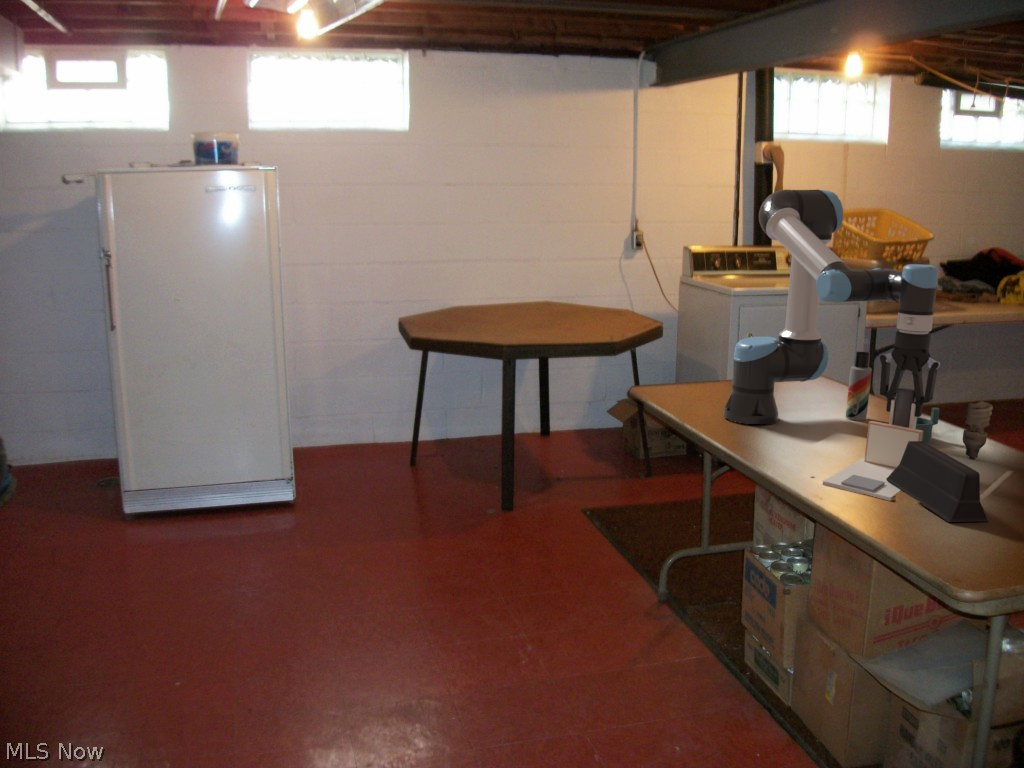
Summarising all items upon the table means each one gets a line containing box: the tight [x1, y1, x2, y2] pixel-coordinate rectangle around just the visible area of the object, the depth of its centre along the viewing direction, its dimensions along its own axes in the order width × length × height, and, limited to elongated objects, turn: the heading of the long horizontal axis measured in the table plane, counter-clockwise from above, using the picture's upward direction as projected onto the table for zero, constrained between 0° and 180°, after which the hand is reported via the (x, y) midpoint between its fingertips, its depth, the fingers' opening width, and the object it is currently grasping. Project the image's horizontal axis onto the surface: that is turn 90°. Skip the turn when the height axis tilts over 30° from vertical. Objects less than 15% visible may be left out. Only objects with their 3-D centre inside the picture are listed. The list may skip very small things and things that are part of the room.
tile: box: [864, 420, 923, 469], centre depth 205 cm, size 12×2×10 cm, turn 48°
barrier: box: [886, 441, 989, 523], centre depth 184 cm, size 24×9×10 cm, turn 8°
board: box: [822, 456, 902, 502], centre depth 200 cm, size 15×26×1 cm, turn 138°
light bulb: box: [962, 400, 994, 460], centre depth 213 cm, size 6×6×15 cm
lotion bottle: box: [845, 350, 872, 422], centre depth 249 cm, size 6×6×20 cm
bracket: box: [916, 407, 940, 444], centre depth 231 cm, size 9×9×9 cm
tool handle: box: [893, 387, 915, 428], centre depth 207 cm, size 4×4×12 cm
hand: (902, 427), depth 208 cm, fingers closed on tool handle, 4 cm apart
